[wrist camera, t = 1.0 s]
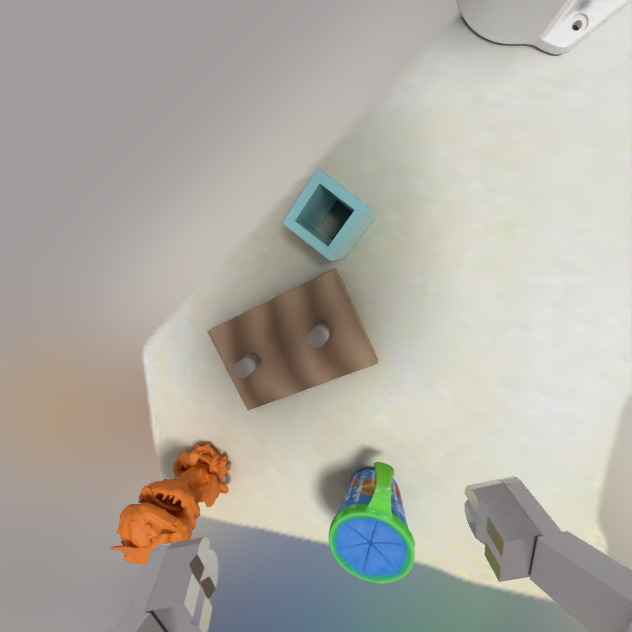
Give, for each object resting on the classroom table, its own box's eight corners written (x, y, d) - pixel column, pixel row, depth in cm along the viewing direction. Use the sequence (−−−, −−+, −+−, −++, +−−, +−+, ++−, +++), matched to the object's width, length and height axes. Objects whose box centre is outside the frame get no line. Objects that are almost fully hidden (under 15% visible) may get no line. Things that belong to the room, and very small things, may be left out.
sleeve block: (335, 188, 39) (317, 167, 29) (374, 218, 38) (369, 207, 29) (307, 230, 41) (282, 223, 31) (344, 259, 40) (329, 260, 31)
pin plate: (335, 268, 41) (327, 271, 36) (377, 359, 42) (376, 374, 37) (212, 328, 47) (190, 338, 42) (252, 405, 49) (235, 424, 43)
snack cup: (390, 539, 47) (390, 612, 38) (328, 511, 49) (313, 574, 40) (426, 461, 43) (436, 520, 34) (357, 433, 45) (348, 482, 35)
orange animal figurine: (226, 429, 51) (142, 518, 34) (248, 484, 52) (178, 598, 35) (175, 439, 54) (75, 525, 37) (197, 491, 55) (110, 597, 38)
